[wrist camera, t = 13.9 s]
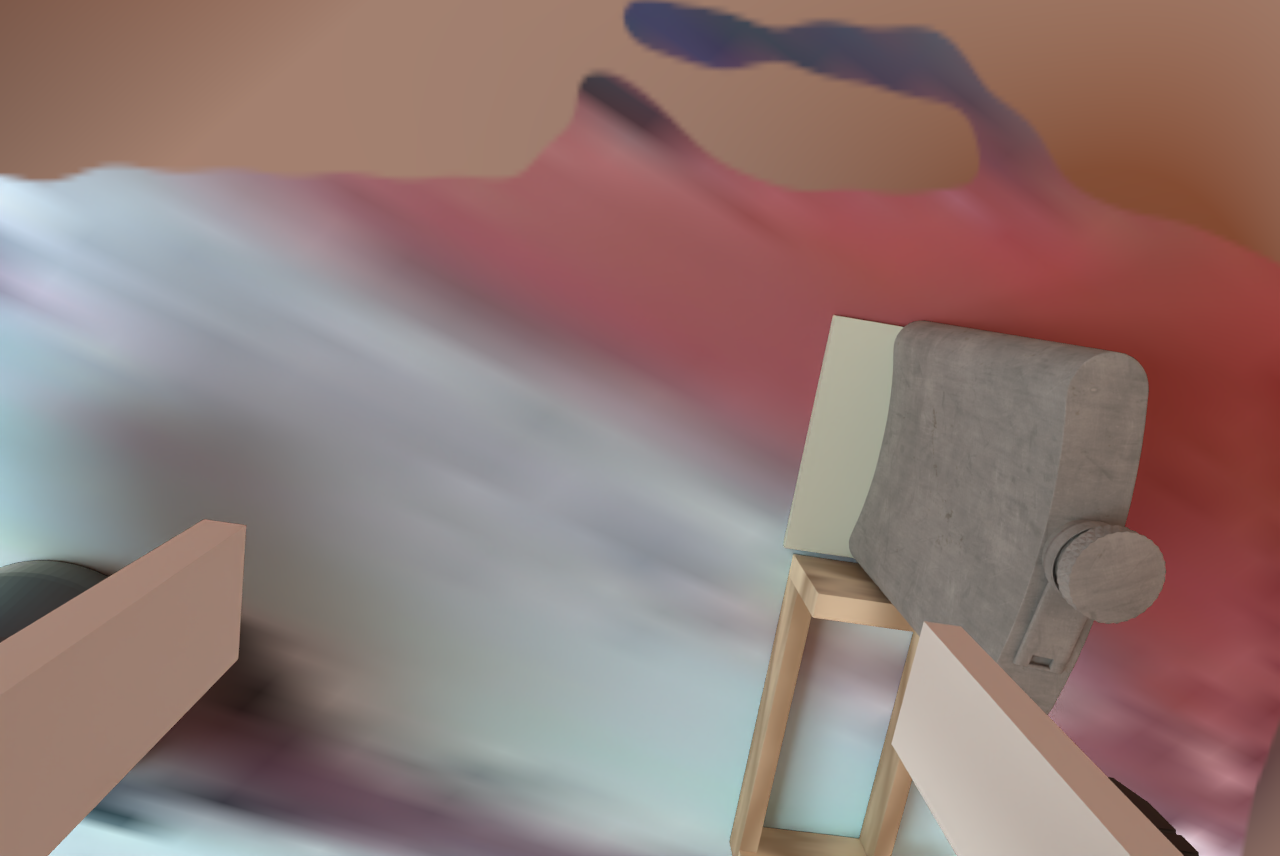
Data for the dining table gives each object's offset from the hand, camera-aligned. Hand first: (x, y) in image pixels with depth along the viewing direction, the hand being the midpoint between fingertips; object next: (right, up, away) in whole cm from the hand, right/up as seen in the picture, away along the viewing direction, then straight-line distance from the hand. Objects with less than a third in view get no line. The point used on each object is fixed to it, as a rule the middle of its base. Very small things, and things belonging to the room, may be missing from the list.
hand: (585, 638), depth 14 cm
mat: (+18, +3, +32) cm, 37 cm away
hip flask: (+18, +3, +32) cm, 37 cm away
